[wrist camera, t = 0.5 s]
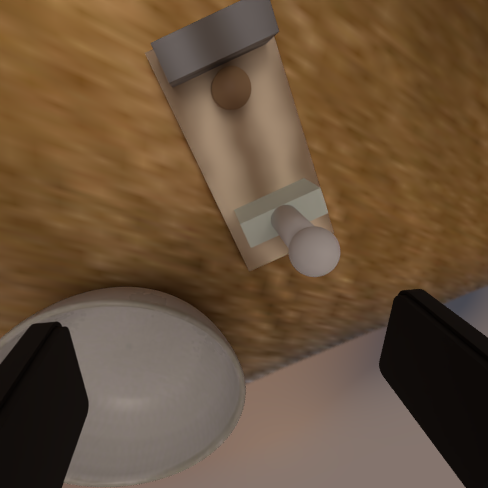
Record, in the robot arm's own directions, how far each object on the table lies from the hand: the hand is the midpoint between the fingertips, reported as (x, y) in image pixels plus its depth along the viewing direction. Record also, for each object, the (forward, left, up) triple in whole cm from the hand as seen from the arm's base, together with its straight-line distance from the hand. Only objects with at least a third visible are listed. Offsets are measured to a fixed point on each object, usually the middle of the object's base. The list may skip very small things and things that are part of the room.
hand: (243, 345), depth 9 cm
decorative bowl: (+18, +17, -29) cm, 38 cm away
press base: (-6, +1, -29) cm, 30 cm away
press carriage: (-6, +7, -27) cm, 28 cm away
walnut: (-6, -7, -27) cm, 28 cm away
